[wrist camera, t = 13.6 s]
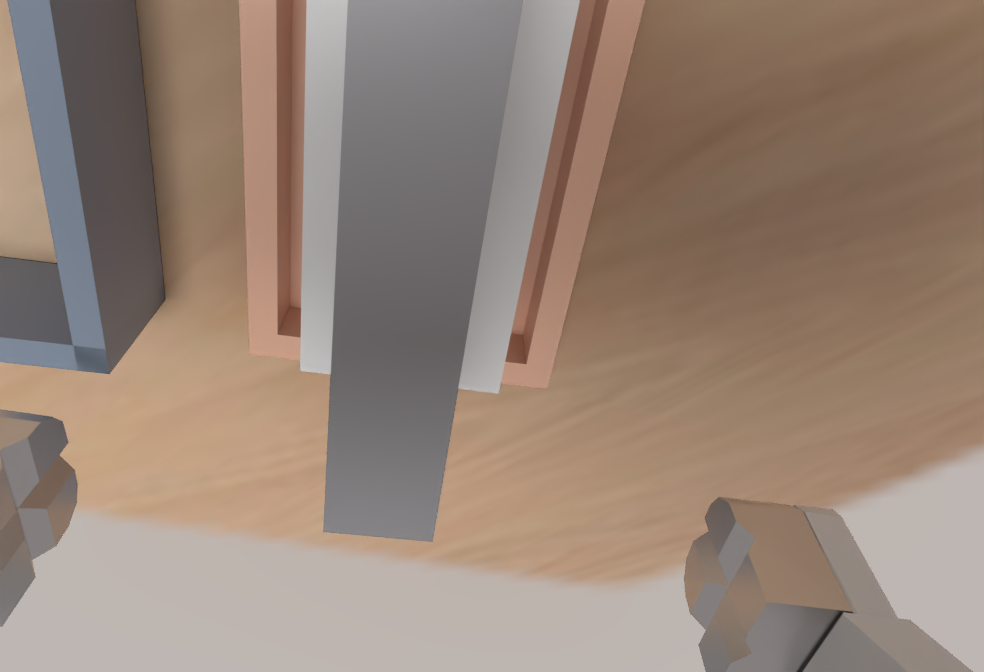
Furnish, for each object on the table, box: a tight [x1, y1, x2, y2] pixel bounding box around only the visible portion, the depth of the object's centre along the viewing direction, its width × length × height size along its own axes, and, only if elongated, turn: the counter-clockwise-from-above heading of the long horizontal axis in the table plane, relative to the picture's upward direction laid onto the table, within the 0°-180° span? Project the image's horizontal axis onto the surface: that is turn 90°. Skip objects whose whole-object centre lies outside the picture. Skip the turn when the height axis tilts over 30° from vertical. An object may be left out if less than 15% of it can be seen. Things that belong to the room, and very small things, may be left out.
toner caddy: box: [300, 0, 580, 542], centre depth 18 cm, size 6×12×12 cm, turn 171°
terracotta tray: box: [239, 0, 645, 389], centre depth 23 cm, size 11×17×3 cm, turn 171°
